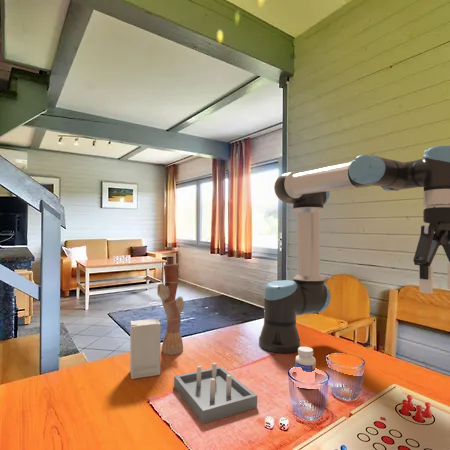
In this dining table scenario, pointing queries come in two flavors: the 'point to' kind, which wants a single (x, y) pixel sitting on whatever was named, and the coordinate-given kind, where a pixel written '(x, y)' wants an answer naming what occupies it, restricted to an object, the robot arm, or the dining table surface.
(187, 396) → the tray
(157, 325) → the skincare box
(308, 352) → the pill bottle
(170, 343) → the wooden tree sculpture
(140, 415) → the dining table surface
